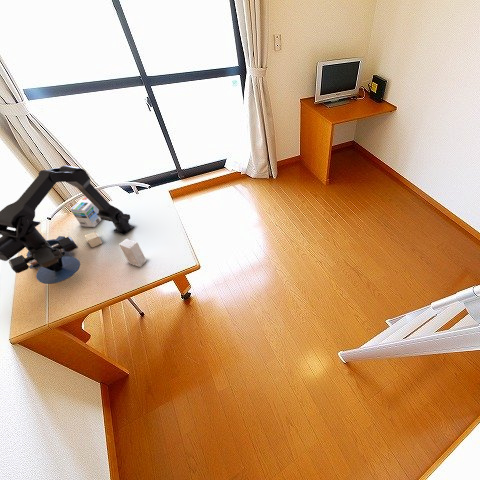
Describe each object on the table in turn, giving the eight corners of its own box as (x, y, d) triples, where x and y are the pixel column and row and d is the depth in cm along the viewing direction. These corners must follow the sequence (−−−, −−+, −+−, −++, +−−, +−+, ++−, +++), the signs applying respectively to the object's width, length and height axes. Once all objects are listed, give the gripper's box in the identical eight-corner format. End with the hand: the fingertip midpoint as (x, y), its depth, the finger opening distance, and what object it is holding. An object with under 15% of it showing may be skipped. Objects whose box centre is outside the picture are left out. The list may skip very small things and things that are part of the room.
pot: (83, 245, 128) (75, 236, 124) (56, 276, 115) (47, 267, 111) (53, 244, 128) (45, 234, 123) (23, 275, 114) (13, 265, 110)
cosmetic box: (147, 260, 126) (137, 242, 118) (140, 267, 123) (129, 248, 115) (136, 256, 127) (126, 238, 119) (128, 263, 124) (117, 244, 116)
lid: (88, 259, 116) (81, 249, 112) (67, 285, 106) (58, 276, 102) (53, 257, 115) (45, 247, 111) (28, 284, 105) (18, 274, 101)
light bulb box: (94, 227, 137) (84, 210, 130) (80, 226, 137) (69, 209, 130) (107, 214, 145) (97, 197, 138) (93, 213, 145) (83, 196, 137)
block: (99, 238, 133) (94, 231, 130) (102, 243, 131) (98, 236, 128) (88, 242, 130) (83, 235, 127) (92, 247, 128) (87, 240, 125)
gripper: (3, 266, 89) (33, 294, 100) (71, 239, 100) (92, 267, 111) (-5, 248, 94) (25, 276, 105) (61, 224, 105) (81, 252, 116)
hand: (57, 268), depth 109 cm, fingers closed on lid, 3 cm apart
